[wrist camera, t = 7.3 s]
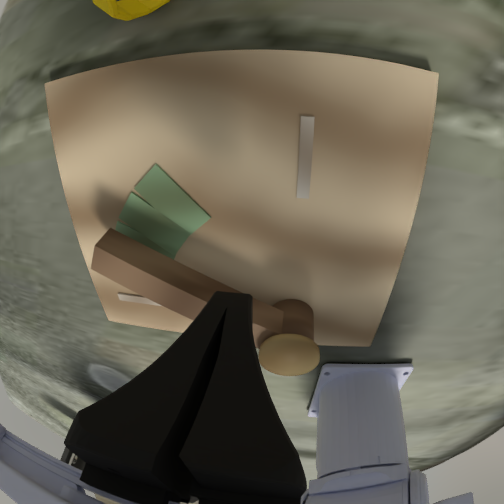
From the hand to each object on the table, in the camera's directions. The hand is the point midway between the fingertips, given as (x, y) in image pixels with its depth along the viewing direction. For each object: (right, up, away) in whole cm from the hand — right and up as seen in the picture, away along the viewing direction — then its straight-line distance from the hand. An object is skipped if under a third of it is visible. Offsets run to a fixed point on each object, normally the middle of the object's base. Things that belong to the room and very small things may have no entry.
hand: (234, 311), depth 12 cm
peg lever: (-1, +1, +7) cm, 7 cm away
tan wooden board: (-1, +4, +5) cm, 7 cm away
